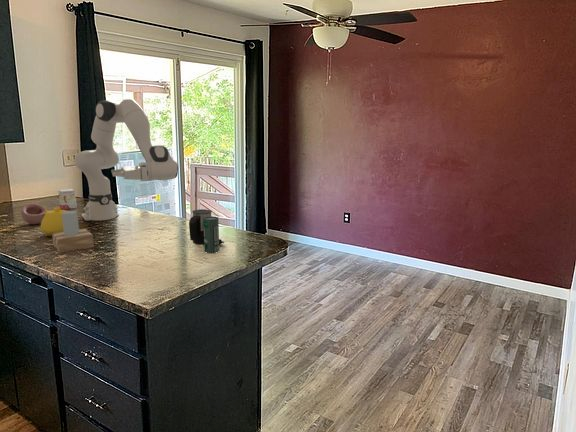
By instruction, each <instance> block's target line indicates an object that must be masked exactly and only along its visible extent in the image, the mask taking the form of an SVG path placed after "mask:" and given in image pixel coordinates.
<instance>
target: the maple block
mask: <svg viewBox="0 0 576 432" xmlns="http://www.w3.org/2000/svg"><path fill="white" fill-rule="evenodd" d="M51 236H52V244H53V246H54V247H55V249H56V250H57V251H58V253H65V252H69V251H70V250H72V251H77V249H78V250H83V248H84V249H89V248H94V247H95V244H94V235H93V234H92V233H91V232H90V231H89V230H88V229H86V228H79V233H78V234H77V235H71V236H64V231H63V232H56V233H52V235H51ZM64 251H65V252H64ZM70 252H71V251H70Z"/></svg>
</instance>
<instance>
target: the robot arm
mask: <svg viewBox="0 0 576 432" xmlns="http://www.w3.org/2000/svg"><path fill="white" fill-rule="evenodd" d="M118 123H121V124H123V123H124V124H125V125H126V126H125V127H127V129H128V130H129V132H130V133H131V135H132V137H133V138H134V141H135V143H136V144H137V147H138V149H139V151H140V152H141V155H142V156H143V160H144V161H145V162H144V161H143V162H138V164H136V165H133V166H128V165H127V166H125V165H124V166H121V168H117V169H111V168H113V167H116V166H117V165H118V163H119V160H120V159H119V154H118V153H117V151H115V149H114V144H113V143H114V137H115V133H116V128H117V124H118ZM90 139H91V140H92V142H93V143H94V144H95V145H96V148H95V149H91V150H90V149H89V150H87V149H86V150H83V151H80V152H78V153H76V154H75V156H74V165H75V166H76V168H77V169H78V170H80V171H81V172H82V173H83V174H84V175H85V177H86V179H87V183H88V188H89V189H88V190H89V191H88V192H89V194H88V202H87V203H86V205H85V207H83V208H82V209H83V212H84V213H82V214H81V217H82V219H84V220H85V221H108V220H109V221H110V220H113V219H115V218H117V217H118V216H120V215H119V213H117V209H116V203H115V201H113V195H112V191H111V181H110V179H109V178H108V177H107V176H105V175H104V174H103V172H102V170H104V169H105V170H106V169H111V170H110V171H111V174H112V177H119V178H123V179H124V180H133V181H134V180H135V181H137V180H139V181H140V182H153V181H170V180H173V179H176V178H177V177H178V174H179V164H178V162H177V161H175V160H174V159H173V158H172V156H171V153H170V152H169V149H168V148H167V147H166V146H165V145H162V144H155V145H152V142H151V125H150V121H149V118H148V115H147V114H146V113H145V111H144V109H143V108H142V107H141V105H140V104H138V102H137V101H135V100H134V99H132V98H125V99H123V100H121V101H120V100H106V99H105V100H100V101H98V103H97V104H96V105H95V117H94V121H93V125H92V131H91V134H90Z"/></svg>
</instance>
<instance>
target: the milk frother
mask: <svg viewBox="0 0 576 432" xmlns="http://www.w3.org/2000/svg"><path fill="white" fill-rule="evenodd" d="M191 212H192V216H191V217H190V218H189V221H188V226H189V227H188V228H189V239H190V241H192V242H193V243H194V244H197V245H201V244H202V245H204V219H203V218H205V217H210V216H211V217H212V209H195V210H192V211H191ZM224 243H225V241H222V239H220V238H219V246H222V244H224Z"/></svg>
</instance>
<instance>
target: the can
mask: <svg viewBox="0 0 576 432" xmlns="http://www.w3.org/2000/svg"><path fill="white" fill-rule="evenodd" d="M203 219H204V244H203V245H204V253H205V252H207V253H206V254H216V252H217V253H219V252H220V245H219V239H220V228H219V227H220V226H219V224H220V223H219V221H220V220H219V217H218V216H212V215H211V216H210V217H205V218H203ZM218 251H219V252H218Z"/></svg>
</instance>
